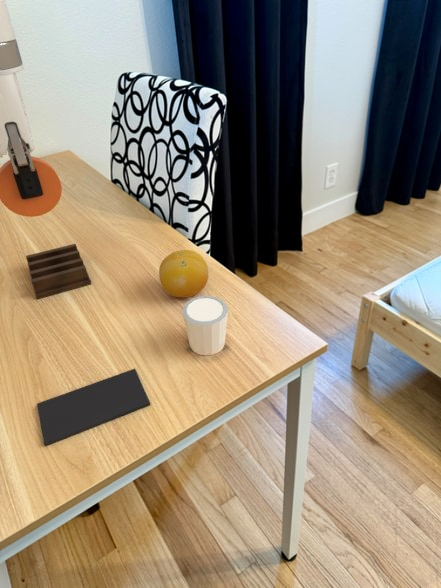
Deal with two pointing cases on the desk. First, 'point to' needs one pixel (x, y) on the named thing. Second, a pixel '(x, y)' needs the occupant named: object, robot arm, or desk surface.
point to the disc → (6, 190)
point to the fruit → (183, 273)
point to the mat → (91, 406)
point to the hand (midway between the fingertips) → (31, 193)
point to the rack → (57, 271)
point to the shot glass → (206, 324)
